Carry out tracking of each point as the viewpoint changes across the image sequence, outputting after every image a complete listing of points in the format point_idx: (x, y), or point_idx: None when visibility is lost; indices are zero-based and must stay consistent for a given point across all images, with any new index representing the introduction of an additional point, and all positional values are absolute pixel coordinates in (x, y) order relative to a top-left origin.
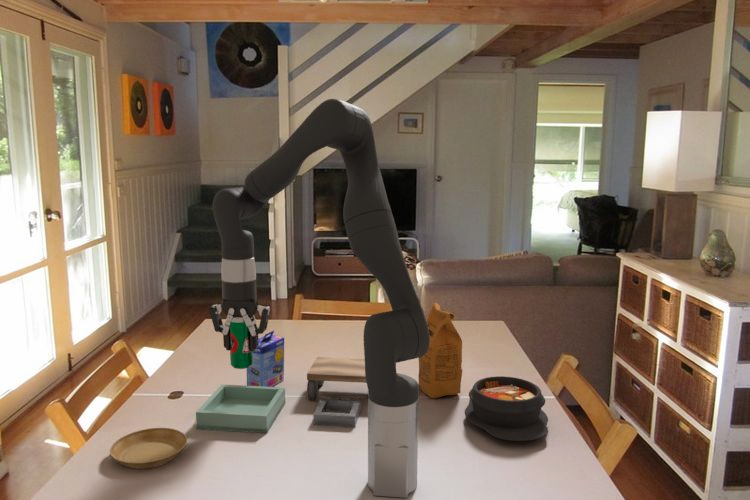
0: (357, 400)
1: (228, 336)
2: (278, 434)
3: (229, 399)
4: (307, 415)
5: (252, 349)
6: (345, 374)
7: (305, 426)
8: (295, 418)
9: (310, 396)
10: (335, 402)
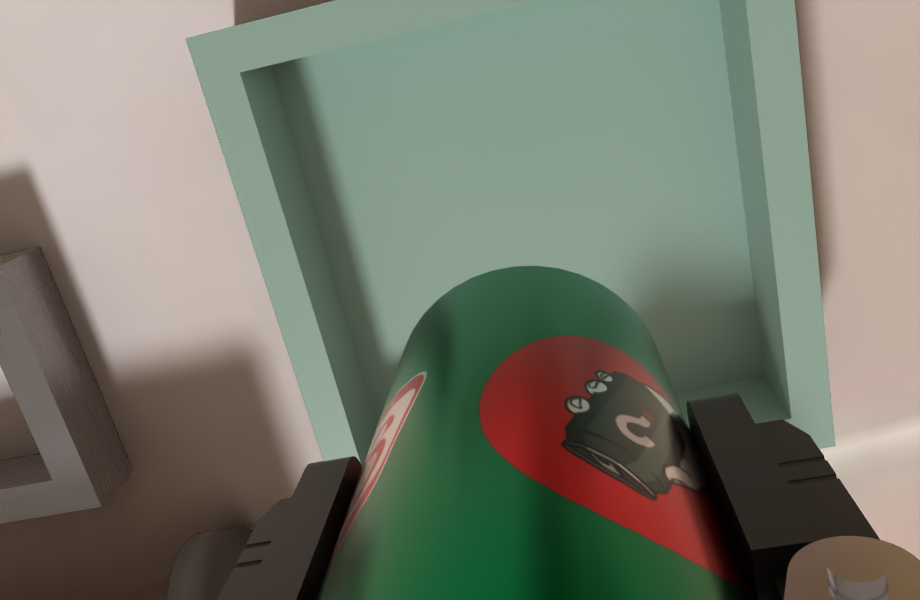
0: None
1: (745, 533)
2: (158, 48)
3: (721, 368)
4: (149, 350)
5: (314, 470)
6: None
7: (73, 211)
8: (191, 291)
9: (213, 531)
10: (6, 482)
